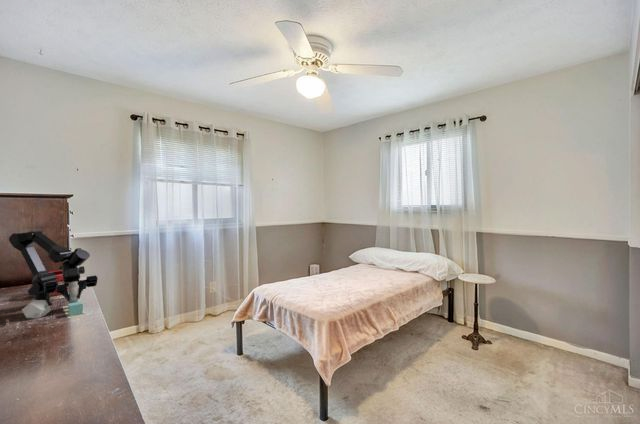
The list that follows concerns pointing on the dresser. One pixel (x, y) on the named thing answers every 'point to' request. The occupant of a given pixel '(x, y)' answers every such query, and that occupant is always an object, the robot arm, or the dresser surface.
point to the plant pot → (59, 279)
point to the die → (36, 309)
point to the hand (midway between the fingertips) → (73, 299)
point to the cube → (75, 308)
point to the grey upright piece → (72, 297)
